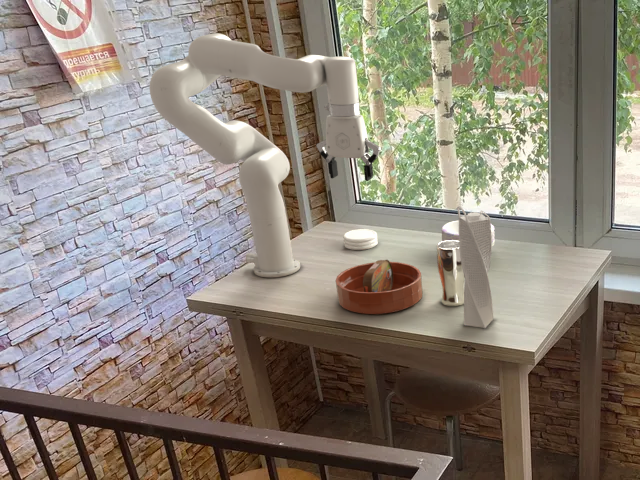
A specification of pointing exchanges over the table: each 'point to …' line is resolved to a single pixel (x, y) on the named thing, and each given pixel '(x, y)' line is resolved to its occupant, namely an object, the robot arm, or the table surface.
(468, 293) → the skyscraper
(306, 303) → the table surface
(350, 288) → the bowl
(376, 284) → the tin
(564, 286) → the table surface
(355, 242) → the coaster
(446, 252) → the chrome tumbler
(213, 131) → the robot arm
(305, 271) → the table surface
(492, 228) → the paper bowls
